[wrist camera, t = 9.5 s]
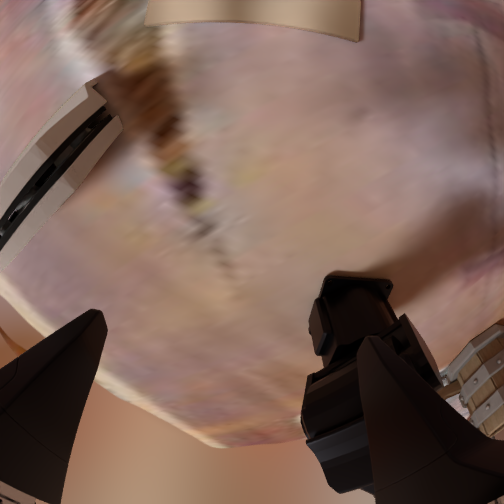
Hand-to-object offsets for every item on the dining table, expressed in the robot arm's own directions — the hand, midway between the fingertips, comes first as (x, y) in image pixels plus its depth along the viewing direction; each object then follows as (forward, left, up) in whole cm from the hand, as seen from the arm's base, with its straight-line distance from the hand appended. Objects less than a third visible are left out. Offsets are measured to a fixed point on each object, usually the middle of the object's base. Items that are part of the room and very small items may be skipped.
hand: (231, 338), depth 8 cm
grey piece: (+17, -2, -12) cm, 21 cm away
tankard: (-35, +20, -12) cm, 42 cm away
